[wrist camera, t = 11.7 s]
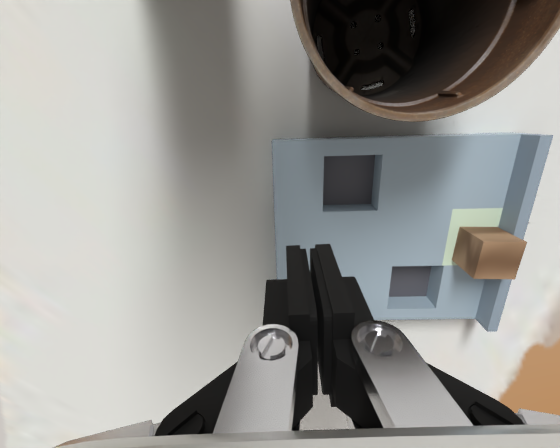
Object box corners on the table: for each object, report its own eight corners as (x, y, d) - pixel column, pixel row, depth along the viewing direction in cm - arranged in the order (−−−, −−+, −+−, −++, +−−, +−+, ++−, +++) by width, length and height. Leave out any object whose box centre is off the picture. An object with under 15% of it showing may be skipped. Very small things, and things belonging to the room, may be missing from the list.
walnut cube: (459, 226, 35) (483, 241, 30) (497, 226, 34) (526, 242, 30) (451, 260, 36) (473, 278, 32) (487, 260, 36) (514, 279, 32)
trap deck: (272, 139, 34) (270, 143, 29) (511, 132, 34) (553, 135, 28) (278, 307, 43) (278, 333, 37) (470, 305, 42) (496, 331, 37)
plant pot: (318, 142, 34) (343, 161, 19) (262, -9, 29) (238, -143, 14) (455, 83, 32) (609, 51, 17) (420, -93, 27) (594, -364, 12)
